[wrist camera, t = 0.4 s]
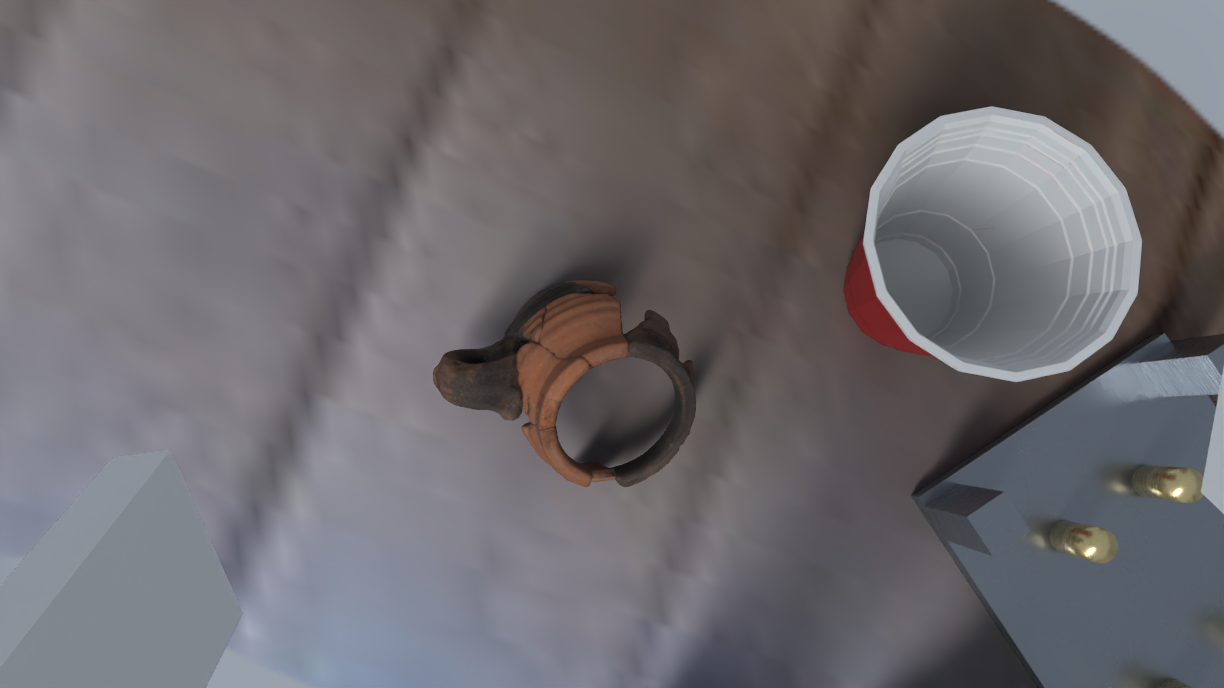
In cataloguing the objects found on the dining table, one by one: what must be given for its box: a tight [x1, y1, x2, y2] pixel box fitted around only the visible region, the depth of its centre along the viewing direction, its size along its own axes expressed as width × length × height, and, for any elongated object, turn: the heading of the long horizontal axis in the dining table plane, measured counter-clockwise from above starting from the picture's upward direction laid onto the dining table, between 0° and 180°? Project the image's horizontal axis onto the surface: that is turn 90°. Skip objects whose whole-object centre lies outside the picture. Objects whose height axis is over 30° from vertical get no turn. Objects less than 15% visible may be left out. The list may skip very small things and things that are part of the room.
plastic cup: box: [844, 106, 1142, 382], centre depth 39 cm, size 11×11×12 cm
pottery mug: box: [433, 280, 696, 487], centre depth 42 cm, size 12×10×8 cm
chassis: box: [912, 333, 1224, 688], centre depth 41 cm, size 20×15×6 cm
